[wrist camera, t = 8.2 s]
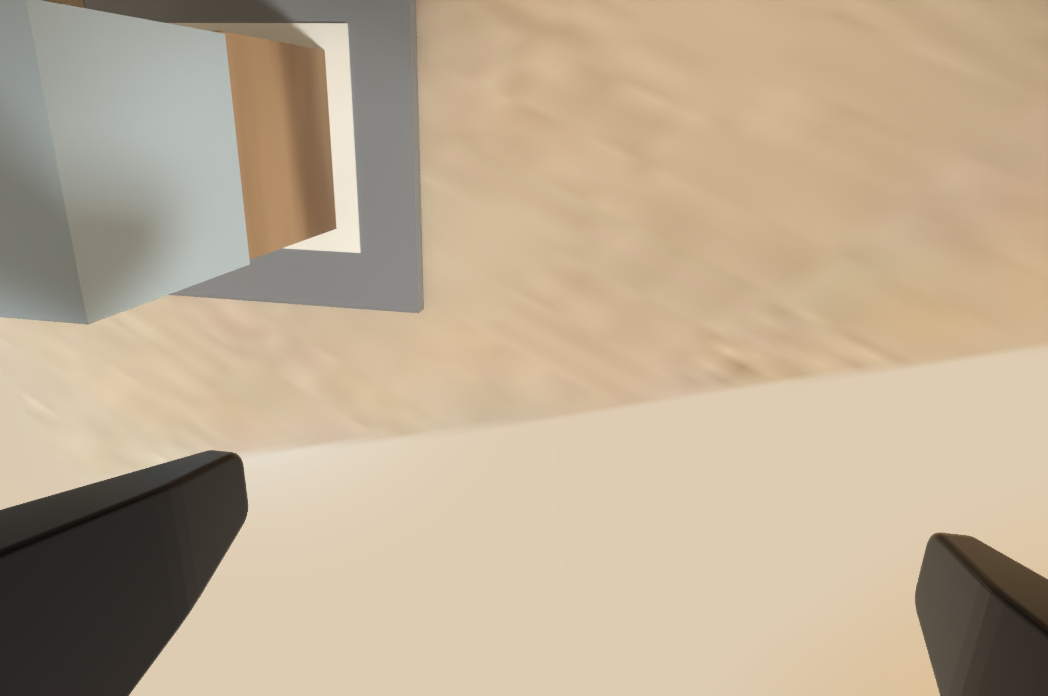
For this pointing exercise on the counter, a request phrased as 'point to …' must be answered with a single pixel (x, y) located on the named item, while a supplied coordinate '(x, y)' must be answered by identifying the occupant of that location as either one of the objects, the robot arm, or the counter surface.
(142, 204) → the bluegrey block
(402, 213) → the pad
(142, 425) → the counter surface
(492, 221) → the counter surface
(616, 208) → the counter surface
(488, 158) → the counter surface
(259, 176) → the walnut block
